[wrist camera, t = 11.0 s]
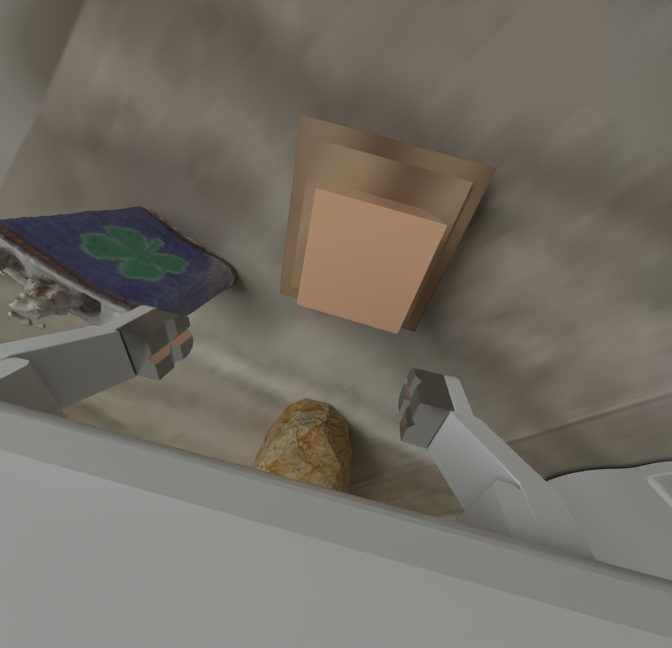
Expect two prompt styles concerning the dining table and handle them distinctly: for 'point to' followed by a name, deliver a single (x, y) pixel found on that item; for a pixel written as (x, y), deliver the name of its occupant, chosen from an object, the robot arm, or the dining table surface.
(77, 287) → the flask
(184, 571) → the robot arm
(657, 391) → the dining table surface
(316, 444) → the bread
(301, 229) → the walnut plinth
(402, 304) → the terracotta block
